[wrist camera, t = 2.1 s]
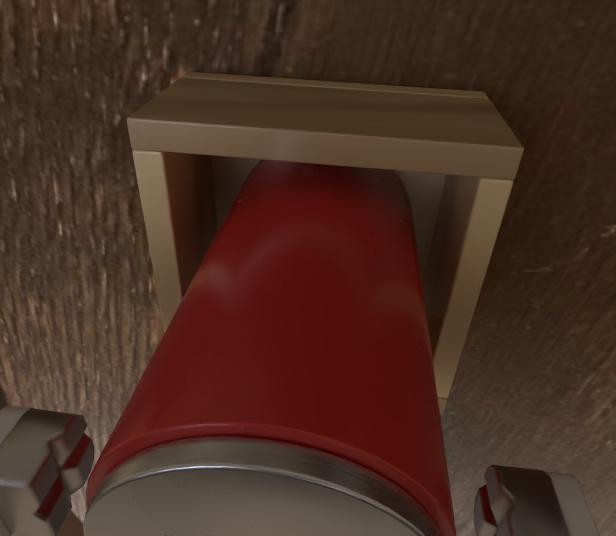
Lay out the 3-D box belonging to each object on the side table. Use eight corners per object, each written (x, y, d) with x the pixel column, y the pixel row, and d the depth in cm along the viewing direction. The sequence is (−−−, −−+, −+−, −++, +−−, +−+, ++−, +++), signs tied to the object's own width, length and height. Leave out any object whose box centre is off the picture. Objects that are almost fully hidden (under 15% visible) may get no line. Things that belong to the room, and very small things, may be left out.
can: (232, 130, 16) (16, 430, 6) (427, 145, 15) (513, 492, 6) (240, 284, 19) (111, 624, 10) (398, 300, 19) (423, 671, 9)
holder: (188, 70, 15) (125, 117, 12) (485, 91, 15) (525, 147, 11) (210, 299, 21) (172, 384, 17) (429, 321, 20) (443, 415, 16)
